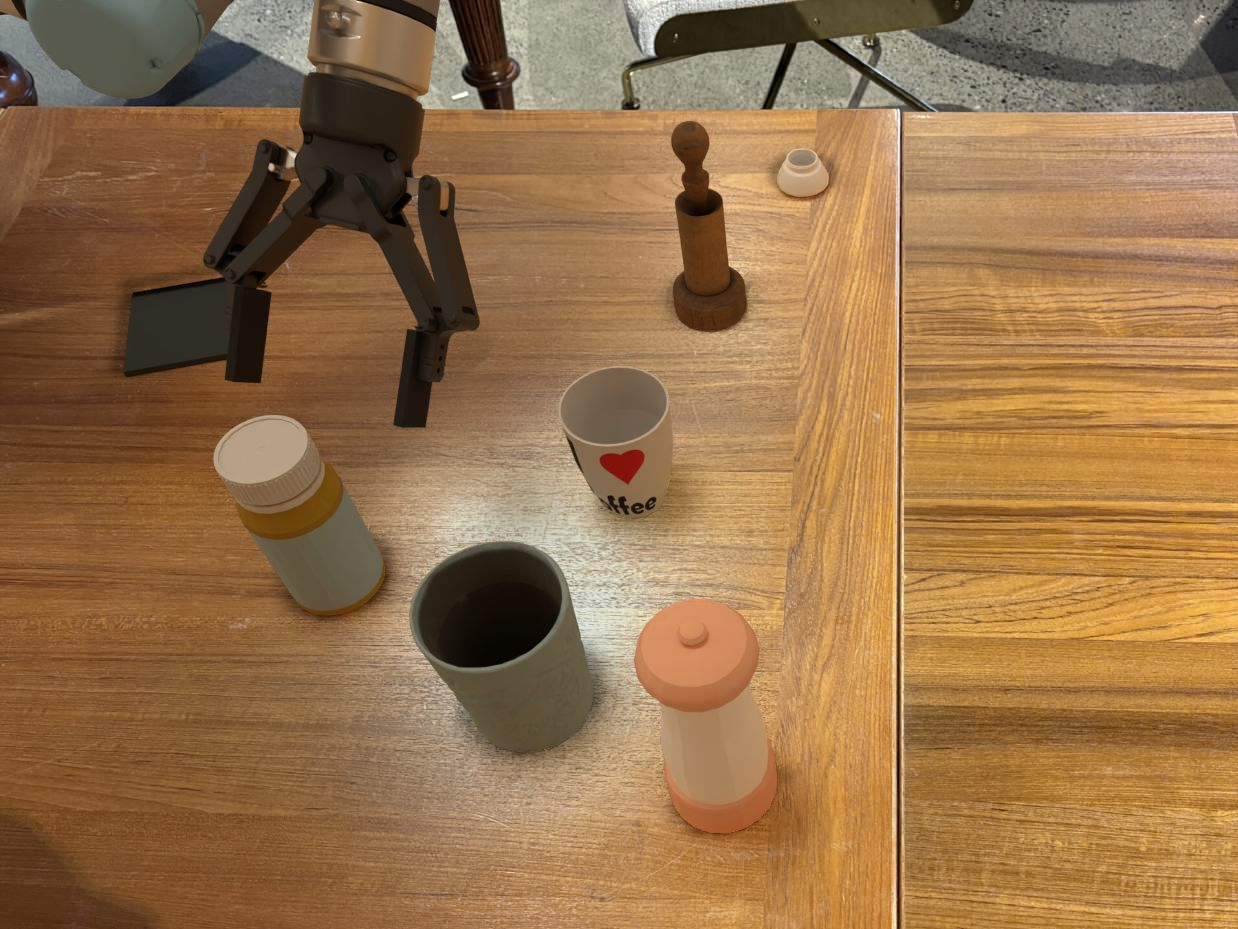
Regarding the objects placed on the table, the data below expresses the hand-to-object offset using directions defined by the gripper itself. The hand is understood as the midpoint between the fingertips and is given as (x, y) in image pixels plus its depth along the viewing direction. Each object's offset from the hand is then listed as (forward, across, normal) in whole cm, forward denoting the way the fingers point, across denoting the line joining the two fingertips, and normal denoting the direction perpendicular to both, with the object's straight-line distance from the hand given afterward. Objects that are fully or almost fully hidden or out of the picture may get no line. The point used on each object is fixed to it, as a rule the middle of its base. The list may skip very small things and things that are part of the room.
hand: (324, 404), depth 83 cm
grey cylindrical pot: (+17, +18, +2) cm, 25 cm away
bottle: (+14, 0, +5) cm, 15 cm away
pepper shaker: (+18, +34, +1) cm, 39 cm away
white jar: (-26, +16, +45) cm, 55 cm away
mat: (-1, -29, +19) cm, 35 cm away
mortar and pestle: (-13, +15, +32) cm, 37 cm away
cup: (+3, +17, +16) cm, 24 cm away
